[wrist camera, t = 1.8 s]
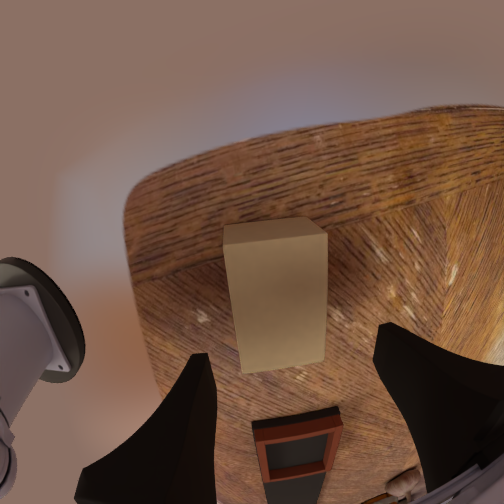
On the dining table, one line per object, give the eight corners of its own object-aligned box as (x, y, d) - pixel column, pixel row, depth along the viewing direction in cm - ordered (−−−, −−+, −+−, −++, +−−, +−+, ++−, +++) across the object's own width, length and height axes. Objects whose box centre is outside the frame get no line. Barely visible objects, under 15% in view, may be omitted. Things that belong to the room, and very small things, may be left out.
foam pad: (239, 336, 19) (242, 374, 15) (223, 224, 17) (222, 245, 13) (308, 326, 19) (324, 361, 16) (306, 215, 17) (327, 233, 13)
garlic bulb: (377, 488, 36) (388, 515, 28) (394, 472, 34) (408, 502, 26) (404, 478, 37) (416, 504, 29) (422, 462, 35) (436, 489, 27)
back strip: (271, 517, 36) (272, 526, 33) (251, 421, 23) (253, 441, 20) (312, 510, 36) (314, 519, 34) (337, 405, 23) (345, 424, 21)
